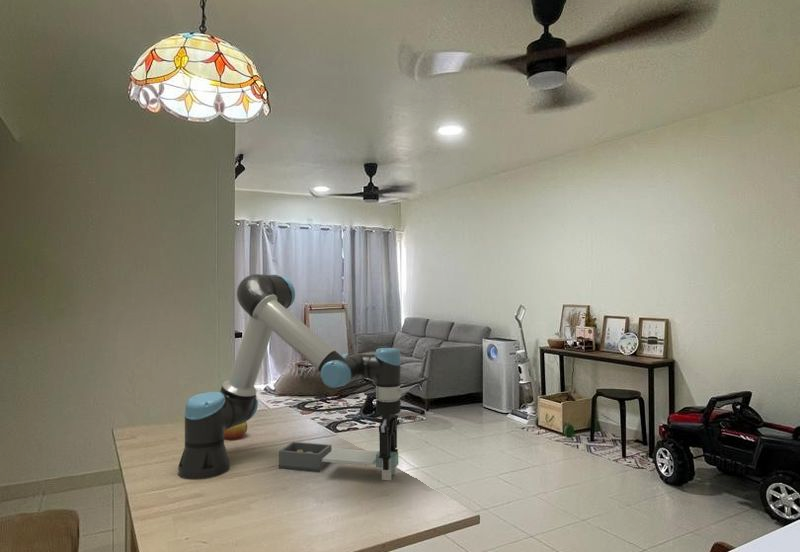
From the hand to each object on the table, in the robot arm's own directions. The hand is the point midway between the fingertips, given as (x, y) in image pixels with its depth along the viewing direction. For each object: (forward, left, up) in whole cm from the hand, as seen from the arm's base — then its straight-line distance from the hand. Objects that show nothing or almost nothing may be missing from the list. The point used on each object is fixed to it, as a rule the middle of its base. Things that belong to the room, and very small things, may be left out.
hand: (388, 476), depth 150 cm
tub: (-29, +4, 0) cm, 29 cm away
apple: (-69, +26, 0) cm, 73 cm away
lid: (-9, 0, +3) cm, 9 cm away
